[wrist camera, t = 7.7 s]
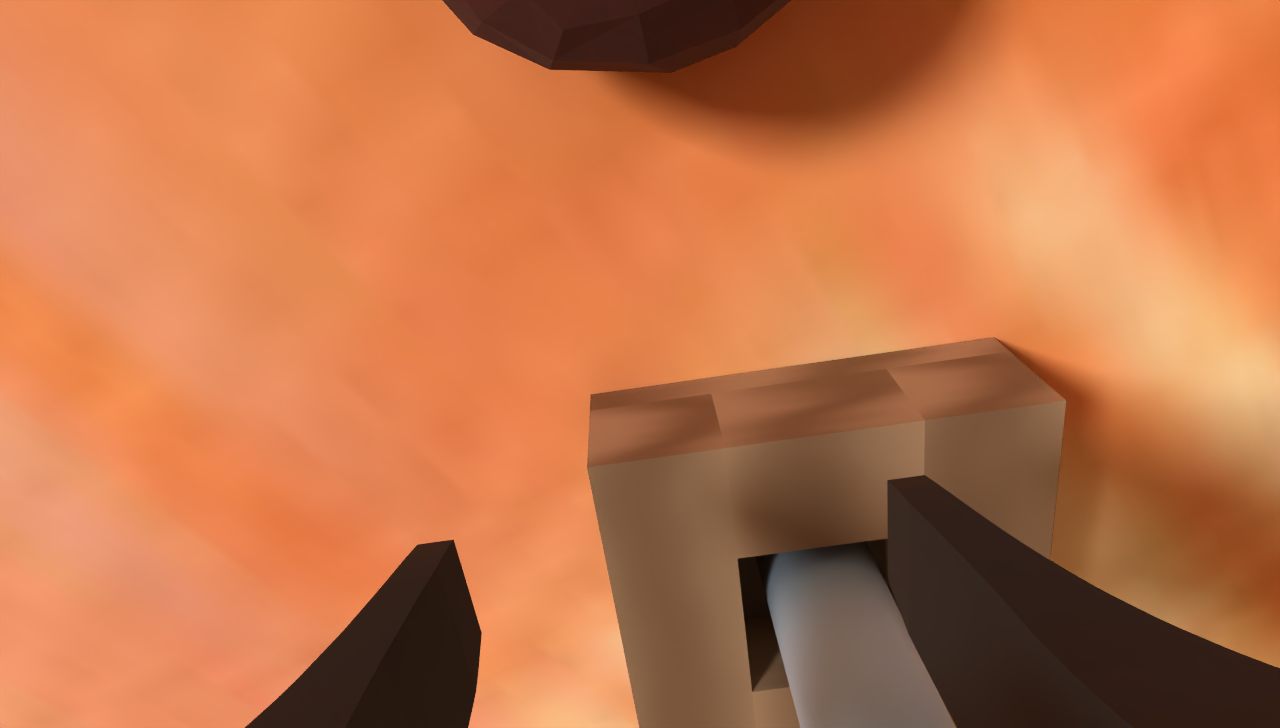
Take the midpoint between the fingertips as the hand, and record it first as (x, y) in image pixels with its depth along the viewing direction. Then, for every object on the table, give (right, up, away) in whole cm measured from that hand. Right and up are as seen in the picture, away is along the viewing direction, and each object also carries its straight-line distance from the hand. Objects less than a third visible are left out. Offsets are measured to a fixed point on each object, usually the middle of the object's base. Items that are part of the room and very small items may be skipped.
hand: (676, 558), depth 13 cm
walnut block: (+5, -2, +13) cm, 14 cm away
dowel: (+5, -3, +12) cm, 13 cm away
